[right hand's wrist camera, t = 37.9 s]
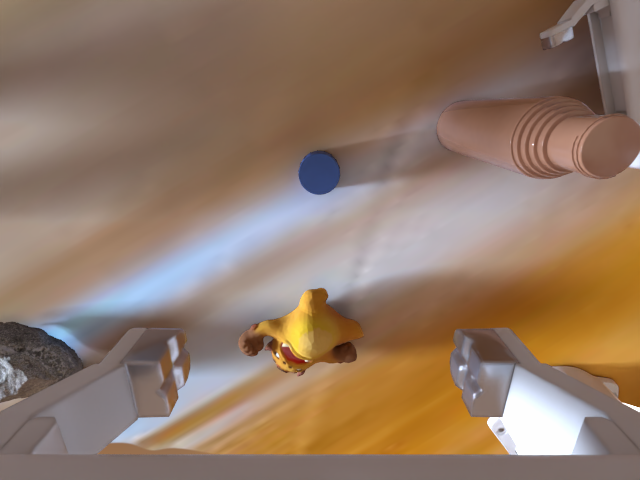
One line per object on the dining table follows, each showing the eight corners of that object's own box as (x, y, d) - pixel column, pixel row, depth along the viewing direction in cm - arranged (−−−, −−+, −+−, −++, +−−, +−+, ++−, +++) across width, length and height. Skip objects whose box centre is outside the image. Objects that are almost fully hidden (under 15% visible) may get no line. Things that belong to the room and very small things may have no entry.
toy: (376, 358, 45) (273, 400, 47) (362, 318, 50) (270, 358, 52) (345, 311, 38) (226, 362, 40) (333, 271, 43) (227, 318, 45)
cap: (301, 191, 41) (300, 196, 39) (297, 152, 39) (296, 154, 37) (340, 188, 41) (341, 193, 39) (337, 148, 39) (338, 150, 37)
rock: (-16, 361, 49) (-63, 396, 43) (-18, 309, 46) (-69, 339, 40) (83, 380, 51) (51, 417, 44) (86, 332, 48) (52, 364, 42)
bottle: (431, 110, 38) (555, 114, 18) (481, 93, 37) (666, 77, 17) (441, 158, 40) (563, 209, 20) (489, 142, 39) (664, 179, 19)
